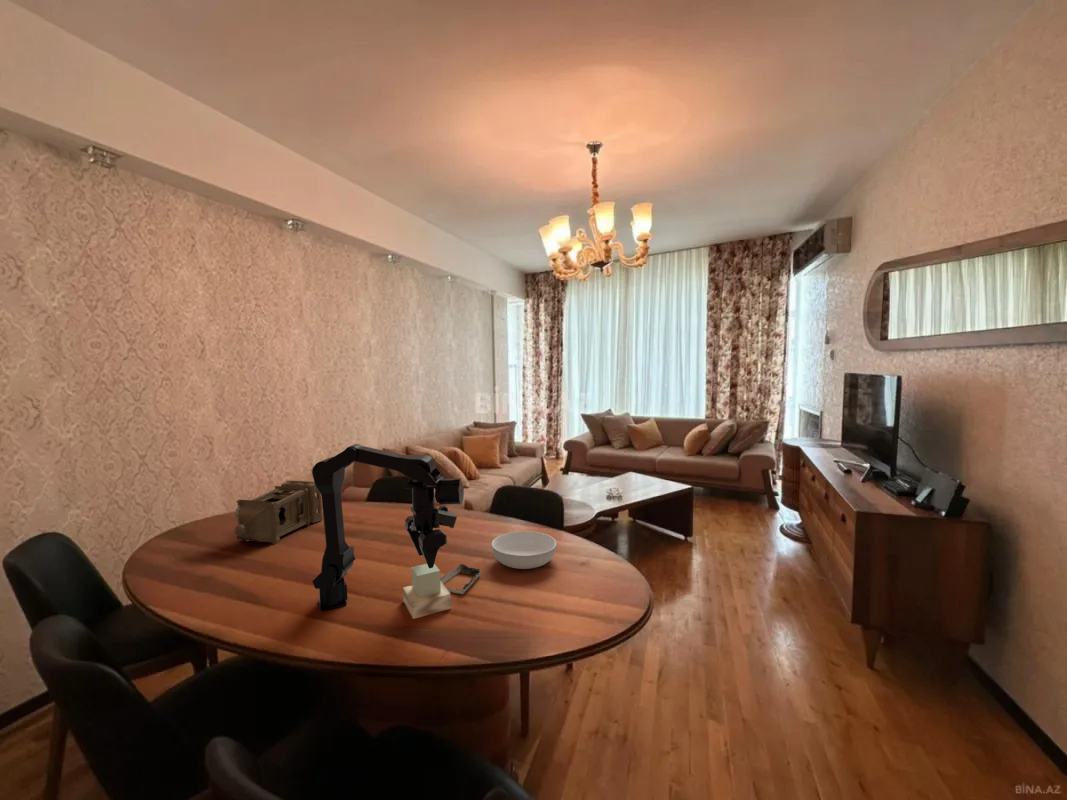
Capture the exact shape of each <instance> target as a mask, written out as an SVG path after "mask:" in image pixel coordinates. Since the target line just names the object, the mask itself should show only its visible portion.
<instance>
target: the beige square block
mask: <svg viewBox="0 0 1067 800" xmlns="http://www.w3.org/2000/svg"><path fill="white" fill-rule="evenodd" d="M440 584H441V593H437V594H433V595H429V596H425V597H422V598H418V597H417V596H416V594H415V592H414V591H413V589H412V584H411V585H408V586H405V587H402V593H403V594H402V595H403V596H402V597H403V603H404V605H405V607H406V609H407V611H408V612H409V614H410V616H411V618H412V620H415V619H418V618H422V617H426V616H429V615H432V614H436V613H440V612H443V611H447V610H450V609H452V599H451V597H452V595H451V592H449V591H448V590H447V589H446V588H447V587H446V586H445V584H443V583H442V582H441V581H440Z"/></svg>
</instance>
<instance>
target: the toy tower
mask: <svg viewBox="0 0 1067 800" xmlns="http://www.w3.org/2000/svg"><path fill="white" fill-rule="evenodd" d="M236 503H237V508H235V511H234V515H235V520H237V525H236V526H235V528H234V530H233V532H234V535H236V540H239V542H240V541H241V542H243V541H242V540H249V541H259V542H258V543H261V542H268V543H267V544H273V545H276V544H277V543H278V542H279V541H280V540H281V538H280V537H282V536H284V535H286V534H289V533H290V532H293V531H295V530H297V529H299V528H301V527H303V526H310V523H311V524H313V523H314V524H315V523H317V522H322V521H323V507H322V497H321V493H320V492H319V490H318V489H317V487H316V486H315V483H314V481H308V480H285V482H283V483H281V484H280V486H279V485H275V486H274V489H271V490H270V491H268V492H266V493H264V494H261V495H259V496H257V497H255V498H252V499H237V500H236Z"/></svg>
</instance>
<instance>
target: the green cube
mask: <svg viewBox="0 0 1067 800" xmlns="http://www.w3.org/2000/svg"><path fill="white" fill-rule="evenodd" d="M440 579H441V570H440V568H439V567H438V566H437V565H436V564H435V563H434V566H433V568H429V567H428V565H427V563H424V564H420V565H415V566H411V585H412V589H413V591H414V592H415V594H416V596H417V597H418V598H422V597H425V596H429V595H433V594H437V593H441V584H440Z"/></svg>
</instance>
